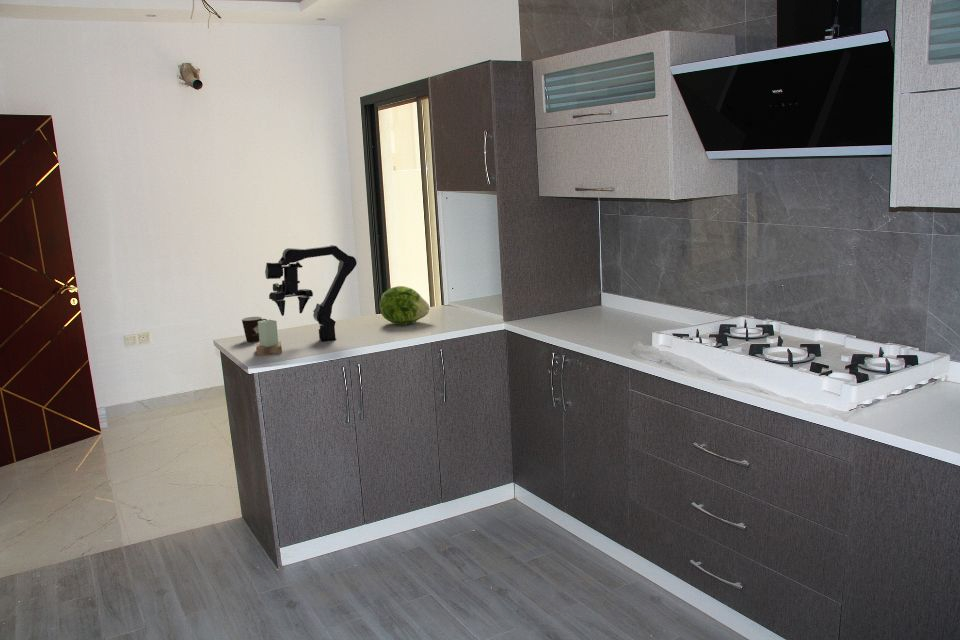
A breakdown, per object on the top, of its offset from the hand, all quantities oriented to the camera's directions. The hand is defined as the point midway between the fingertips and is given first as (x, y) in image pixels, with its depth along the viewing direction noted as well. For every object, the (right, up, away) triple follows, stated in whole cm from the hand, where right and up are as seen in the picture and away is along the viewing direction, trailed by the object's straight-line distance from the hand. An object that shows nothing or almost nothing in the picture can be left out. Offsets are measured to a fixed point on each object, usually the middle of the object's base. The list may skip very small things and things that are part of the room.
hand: (291, 314), depth 340 cm
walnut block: (-7, -16, -10) cm, 20 cm away
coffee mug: (-19, -12, +14) cm, 26 cm away
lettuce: (+46, -4, +35) cm, 58 cm away
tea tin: (-7, -13, -11) cm, 18 cm away
